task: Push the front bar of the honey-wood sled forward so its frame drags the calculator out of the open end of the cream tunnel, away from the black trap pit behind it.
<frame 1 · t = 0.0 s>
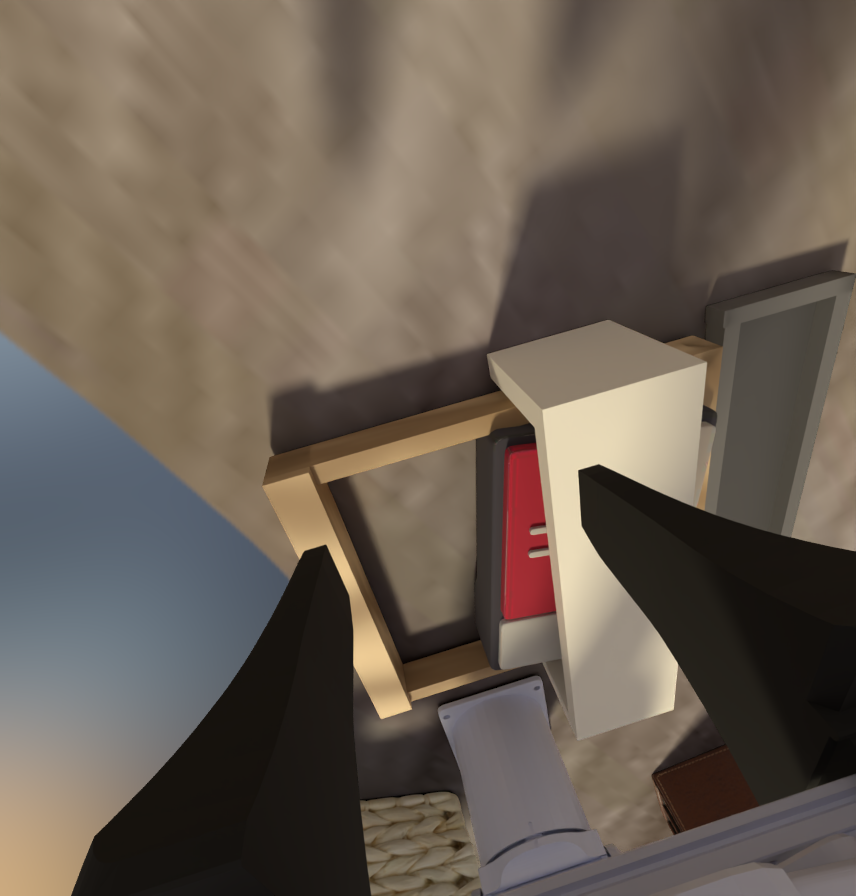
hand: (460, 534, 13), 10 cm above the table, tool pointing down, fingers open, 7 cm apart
sled: (518, 550, 25), point 2 cm above the table, slide at 0.0 cm, touching calculator
letter holder: (740, 754, 48), on the table
tunnel: (564, 516, 27), on the table
calculator: (563, 516, 27), resting in sled
storage basket: (368, 851, 43), on the table
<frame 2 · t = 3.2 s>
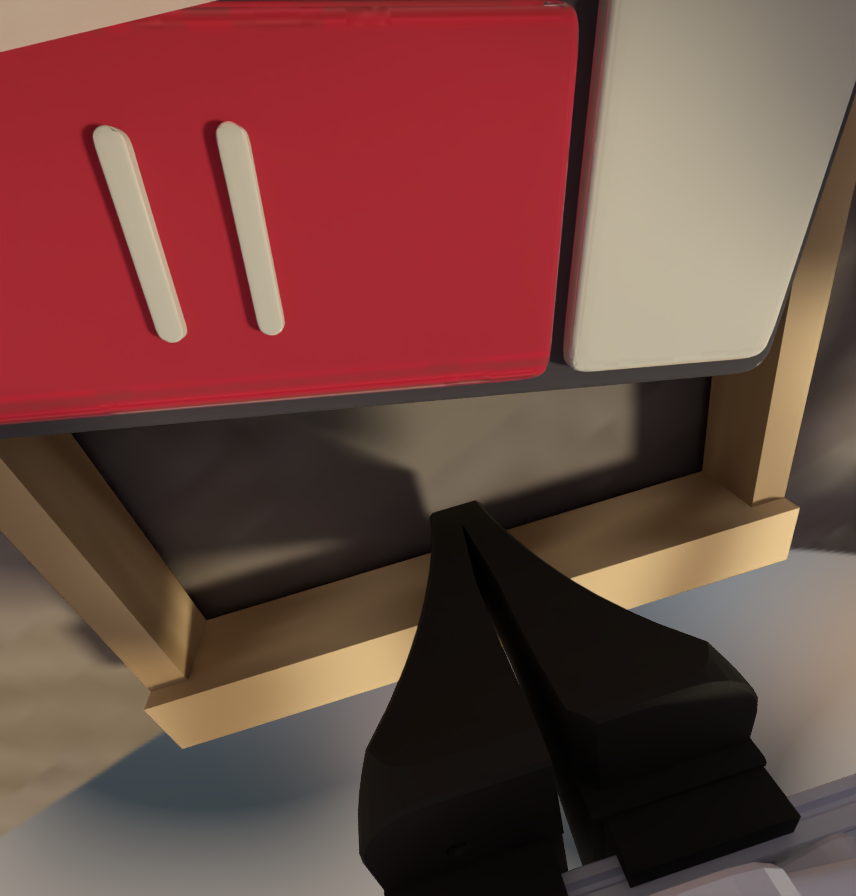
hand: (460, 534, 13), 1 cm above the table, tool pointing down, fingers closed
sled: (395, 263, 9), point 2 cm above the table, slide at 2.5 cm, touching calculator, gripper
calculator: (338, 63, 8), resting in sled
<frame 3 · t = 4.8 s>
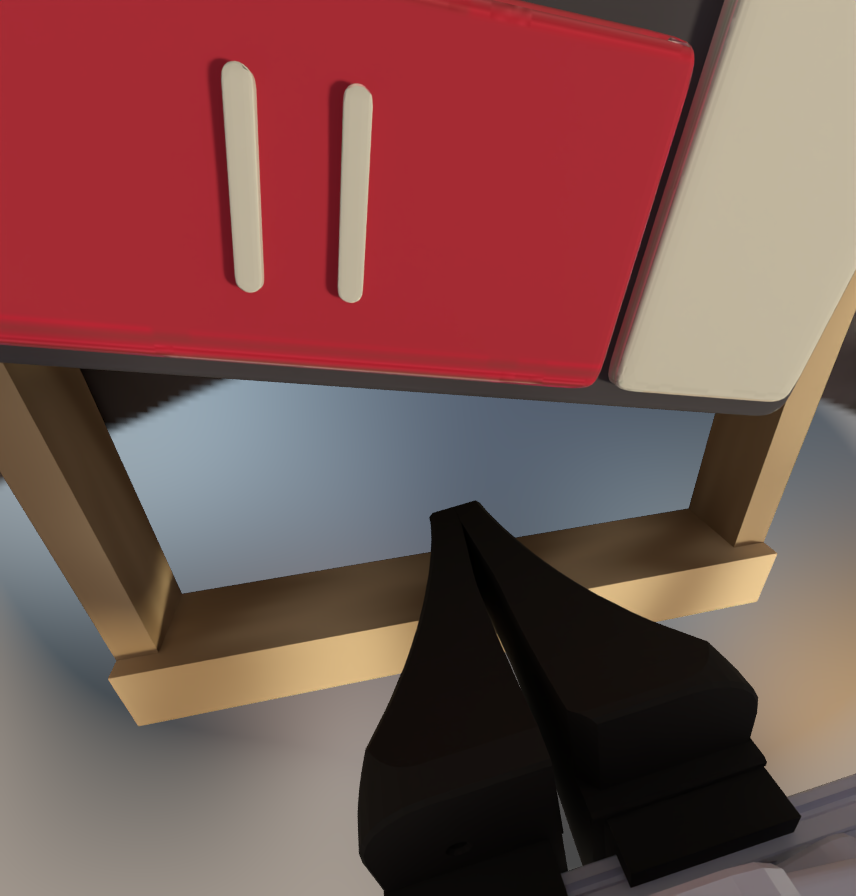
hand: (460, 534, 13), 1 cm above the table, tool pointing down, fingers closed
sled: (455, 259, 9), point 2 cm above the table, slide at 11.3 cm, touching calculator, gripper
calculator: (431, 58, 9), resting in sled
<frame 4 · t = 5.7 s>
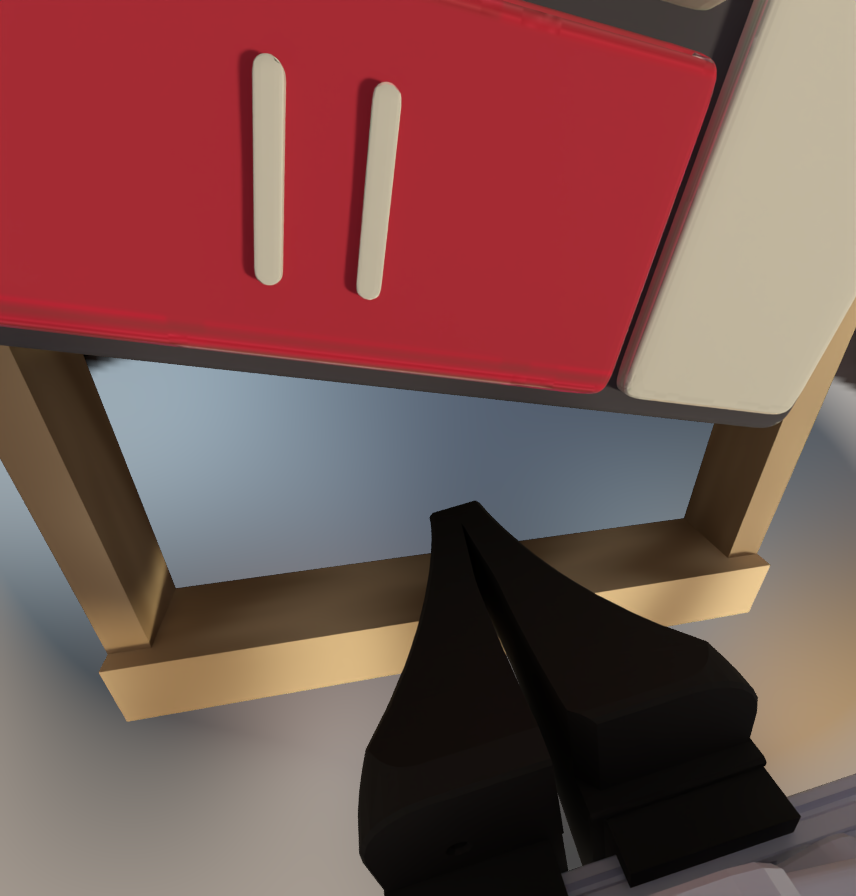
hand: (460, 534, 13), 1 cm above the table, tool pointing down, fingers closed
sled: (468, 261, 9), point 2 cm above the table, slide at 12.5 cm, touching calculator
calculator: (451, 62, 9), resting in sled
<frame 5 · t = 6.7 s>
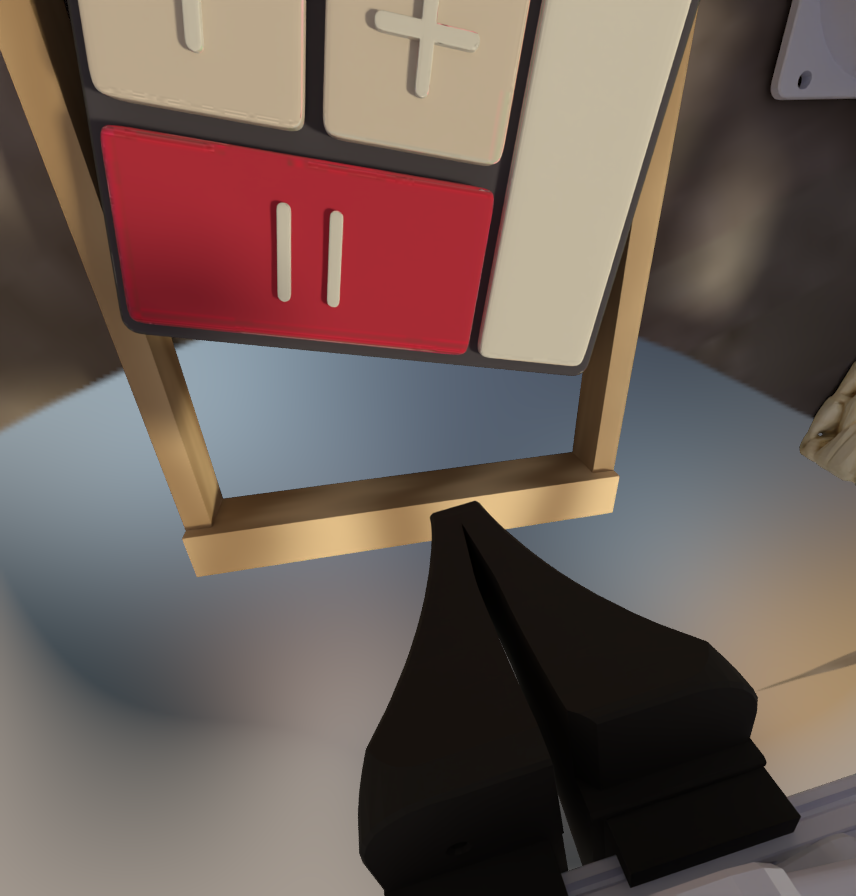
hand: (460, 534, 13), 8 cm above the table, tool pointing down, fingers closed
sled: (395, 282, 16), point 2 cm above the table, slide at 12.7 cm, touching calculator
calculator: (382, 170, 15), resting in sled
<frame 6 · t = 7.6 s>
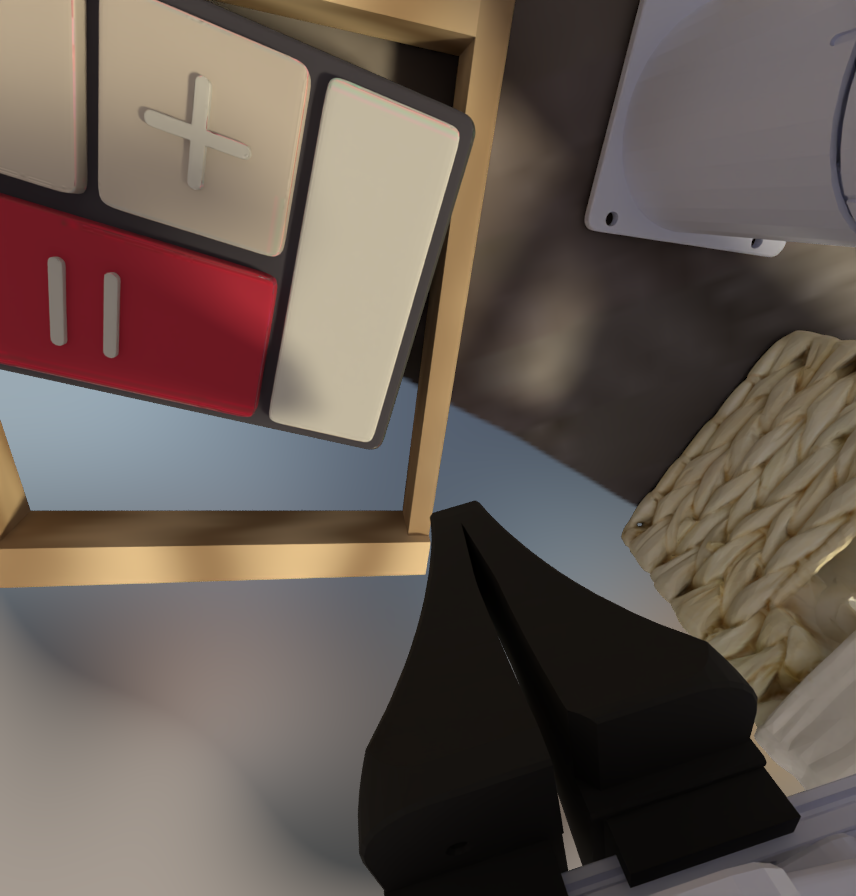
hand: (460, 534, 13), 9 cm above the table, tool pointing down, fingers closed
sled: (208, 336, 16), point 2 cm above the table, slide at 12.8 cm, touching calculator
calculator: (210, 230, 16), resting in sled
storage basket: (796, 491, 29), on the table
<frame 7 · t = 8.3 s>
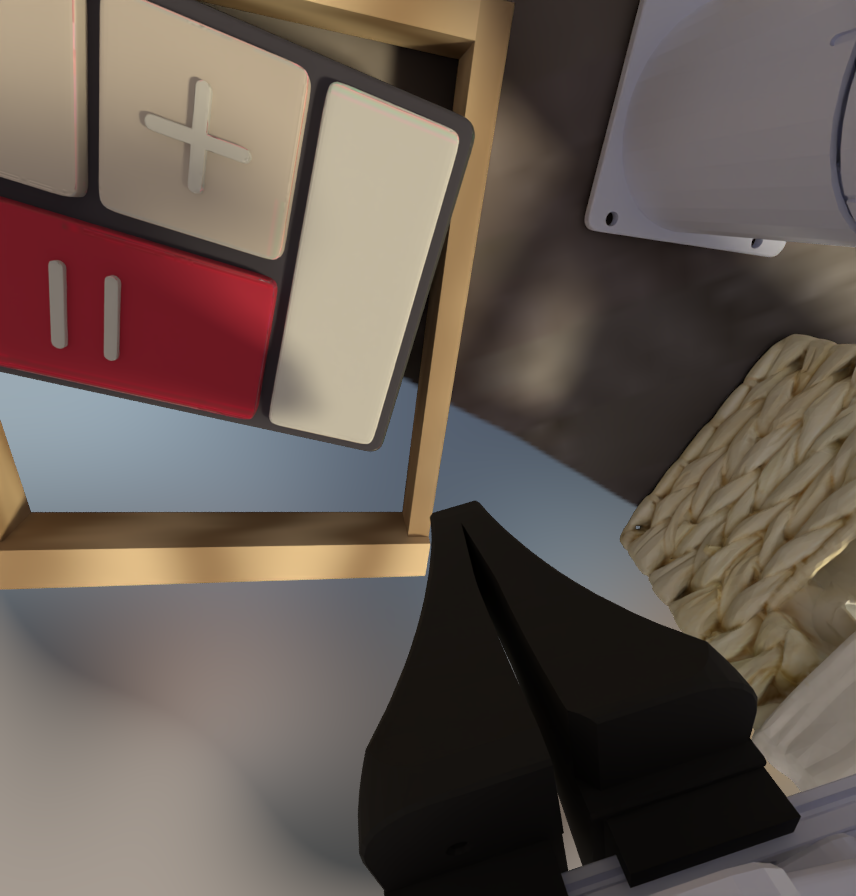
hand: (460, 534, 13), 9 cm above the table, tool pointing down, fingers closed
sled: (208, 338, 16), point 2 cm above the table, slide at 12.9 cm, touching calculator
calculator: (210, 233, 16), resting in sled
storage basket: (794, 493, 29), on the table
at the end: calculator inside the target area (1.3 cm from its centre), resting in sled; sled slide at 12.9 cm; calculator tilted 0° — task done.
